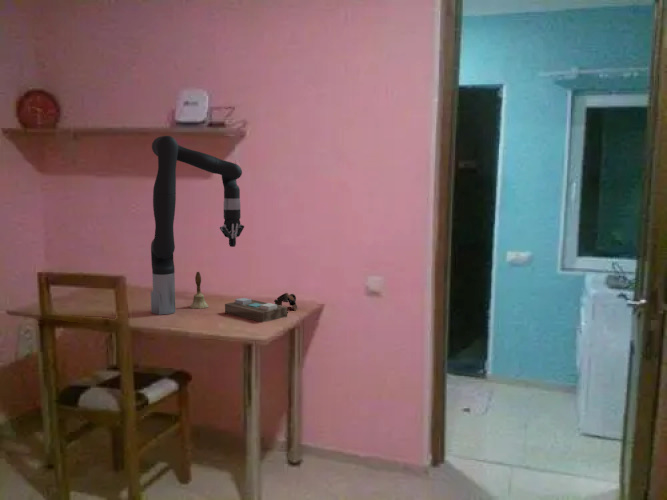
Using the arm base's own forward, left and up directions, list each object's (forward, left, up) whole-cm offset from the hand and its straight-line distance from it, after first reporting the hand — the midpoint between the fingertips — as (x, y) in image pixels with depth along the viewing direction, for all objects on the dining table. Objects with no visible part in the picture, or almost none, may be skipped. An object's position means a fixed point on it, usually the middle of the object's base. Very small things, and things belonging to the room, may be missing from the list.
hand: (232, 246), depth 279 cm
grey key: (-6, -14, -24) cm, 28 cm away
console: (-6, -22, -27) cm, 35 cm away
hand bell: (-13, +8, -27) cm, 31 cm away
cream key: (-6, -30, -24) cm, 39 cm away
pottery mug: (+12, -24, -27) cm, 38 cm away
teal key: (-6, -22, -25) cm, 34 cm away
